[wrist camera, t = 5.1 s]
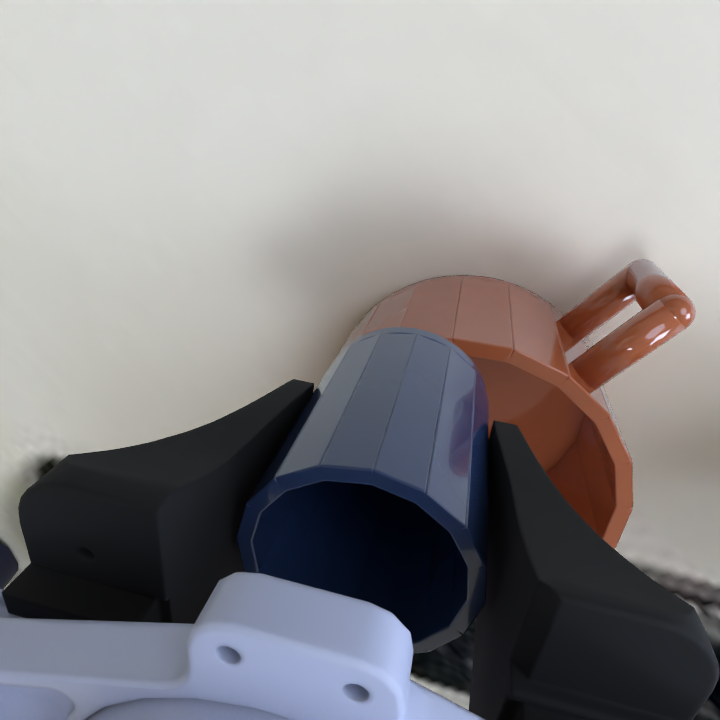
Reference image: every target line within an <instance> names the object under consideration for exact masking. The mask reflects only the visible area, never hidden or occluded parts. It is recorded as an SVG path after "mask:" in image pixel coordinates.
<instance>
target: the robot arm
mask: <svg viewBox="0 0 720 720" xmlns="http://www.w3.org/2000/svg"><path fill="white" fill-rule="evenodd" d="M313 390H314V383H309V382H305V381H300V380H295V379H293V380H291V381H289V382H287V383H285V384H284V385H282V386H280V387H279V388H277V389H275V390H273V391H272V392H270V393H268V394H267V395H265V396H263V397H261V398H259V399H258V400H256V401H254V402H252V403H251V404H249V405H247V406H245V407H243V408H241V409H239V410H237V411H235V412H233V413H231V414H229V415H227V416H225V417H223V418H221V419H218V420H216V421H214V422H211V423H209V424H206V425H204V426H201V427H198V428H196V429H193V430H190V431H187V432H184V433H181V434H178V435H174V436H171V437H167V438H164V439H160V440H157V441H153V442H149V443H145V444H140V445H136V446H130V447H125V448H120V449H114V450H107V451H99V452H91V453H82V454H73V455H68V456H67V457H66V458H64V459H63V460H62V461H61V462H60V463H58V464H57V465H56V466H55V467H54V468H52V469H51V470H50V471H49V472H48V473H46V474H45V475H44V476H43V477H42V478H40V479H39V480H38V481H37V482H36V483H34V484H33V485H32V486H31V487H30V488H28V489H27V490H26V492H25V493H24V494H23V495H22V497H21V499H20V503H19V507H18V509H19V518H20V524H21V528H22V531H23V535H24V539H25V542H26V546H27V550H28V553H29V557H30V561H31V564H30V565H29V566H28V567H27V568H26V569H25V570H24V571H23V572H22V573H21V574H20V575H19V576H18V577H17V578H16V579H15V580H14V581H13V582H12V583H11V584H10V585H9V586H8V587H7V588H6V589H5V590H3V589H0V720H693V718H694V717H695V716H696V714H697V713H698V711H699V710H700V708H701V707H702V706H703V704H704V703H705V701H706V700H707V699H708V697H709V696H710V694H711V693H712V691H713V690H714V688H715V686H716V683H717V681H718V679H719V663H718V661H717V658H716V656H715V653H714V651H713V648H712V646H711V643H710V641H709V638H708V636H707V633H706V631H705V629H704V627H703V625H702V623H701V621H700V619H699V617H698V615H697V613H696V611H695V609H694V607H692V606H691V605H689V604H688V603H686V602H685V601H683V600H682V599H680V598H679V597H677V596H676V595H674V594H673V593H671V592H670V591H668V590H667V589H665V588H664V587H662V586H661V585H659V584H658V583H656V582H655V581H654V580H652V579H651V578H649V577H648V576H647V575H646V574H644V573H643V572H642V571H640V570H639V569H638V568H636V567H635V566H634V565H633V564H631V563H630V562H629V561H628V560H626V559H625V558H624V557H623V556H622V555H620V554H619V553H618V552H617V551H616V550H614V549H613V548H612V547H611V546H610V545H609V544H608V543H607V542H606V541H605V540H603V539H602V538H601V537H600V536H599V535H598V534H597V533H596V532H595V531H594V530H593V529H592V528H591V527H590V526H589V525H588V524H587V523H586V522H585V521H584V520H583V519H582V518H581V517H580V515H579V514H578V513H577V512H576V511H575V510H574V509H573V508H572V507H571V505H570V504H569V503H568V502H567V501H566V500H565V498H564V497H563V496H562V494H561V493H560V492H559V491H558V489H557V488H556V487H555V485H554V484H553V483H552V481H551V480H550V478H549V477H548V475H547V474H546V472H545V471H544V469H543V468H542V466H541V465H540V463H539V462H538V460H537V458H536V457H535V455H534V453H533V452H532V450H531V448H530V447H529V445H528V443H527V441H526V440H525V438H524V436H523V434H522V432H521V431H520V429H519V428H518V426H517V425H514V424H509V423H505V422H500V421H495V420H494V421H493V424H492V428H491V432H490V436H489V440H488V544H487V585H486V603H485V606H484V607H483V609H482V610H481V611H480V613H479V614H478V616H477V617H476V629H475V643H474V656H473V668H472V680H471V691H470V703H469V711H468V710H467V709H465V708H463V707H461V706H459V705H457V704H455V703H453V702H452V701H450V700H448V699H446V698H444V697H442V696H440V695H439V694H437V693H435V692H433V691H431V690H429V689H427V688H426V687H424V686H422V685H420V684H418V683H416V682H414V681H412V680H411V679H410V672H411V665H412V657H413V645H412V639H411V633H410V631H409V630H408V629H407V628H406V627H405V626H404V625H403V624H402V623H401V622H400V621H399V620H398V619H397V617H396V616H395V615H394V614H393V613H392V612H389V611H387V610H385V609H383V608H381V607H379V606H377V605H374V604H372V603H370V602H367V601H363V600H359V599H355V598H352V597H348V596H344V595H340V594H337V593H333V592H329V591H325V590H322V589H318V588H314V587H310V586H307V585H303V584H299V583H295V582H292V581H288V580H284V579H280V578H277V577H273V576H269V575H266V574H262V573H247V572H245V571H244V569H243V564H242V560H241V556H240V551H239V547H238V542H237V532H238V529H239V525H240V522H241V518H242V515H243V511H244V508H245V505H246V503H247V501H248V499H249V498H250V496H251V495H252V493H253V491H254V490H255V488H256V486H257V485H258V483H259V481H260V480H261V478H262V477H263V475H264V473H265V472H266V470H267V468H268V467H269V465H270V463H271V462H272V460H273V459H274V457H275V455H276V454H277V452H278V450H279V449H280V447H281V445H282V444H283V442H284V441H285V439H286V437H287V436H288V434H289V432H290V431H291V429H292V427H293V426H294V424H295V422H296V421H297V419H298V418H299V416H300V414H301V413H302V411H303V409H304V408H305V406H306V404H307V403H308V401H309V400H310V398H311V396H312V395H313Z"/></svg>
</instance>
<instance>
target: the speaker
mask: <svg viewBox="0 0 720 720" xmlns="http://www.w3.org/2000/svg"><path fill="white" fill-rule="evenodd" d="M17 571H18V563H17V562H16V560H15V558H14V557H13V555H12V554H11V552H10V551H9V549H8V548H7V547H5V546H4V545H2V544H0V589H4V588H5V586H6V585H7V584H8V582H9V581H10V580H11V579H12V577H13V576H14V575H15V573H16V572H17Z"/></svg>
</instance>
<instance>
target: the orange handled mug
mask: <svg viewBox="0 0 720 720" xmlns="http://www.w3.org/2000/svg"><path fill="white" fill-rule="evenodd" d="M635 300H636V301H637V302H638V304H639V305H640V307H641V308H642V309H643V310H642V311H640V312H639V313H637V314H636V315H635V316H633V317H632V318H631V319H629V320H628V321H626V322H625V323H624V324H622V325H621V326H620V327H618V328H617V329H616V330H614V331H613V332H611V333H610V334H609V335H607V336H606V337H605V338H603V339H602V340H600V341H599V342H598V343H596V344H595V345H594V346H592V347H591V348H590V349H587V347H586V345H585V343H584V341H583V339H584V338H586V337H587V336H589V335H590V334H591V333H593V332H594V331H595V330H597V329H598V328H599V327H601V326H602V325H603V324H605V323H606V322H607V321H609V320H610V319H611V318H613V317H614V316H615V315H617V314H618V313H619V312H621V311H622V310H623V309H625V308H626V307H627V306H629V305H630V304H631V303H633V302H634V301H635ZM694 318H695V307H694V304H693V303H692V301H691V300H690V299H689V298H688V297H687V296H686V295H685V294H684V293H683V292H682V291H681V290H680V289H679V288H678V287H677V286H676V285H675V284H674V283H673V282H672V281H671V280H670V279H669V278H668V277H667V276H666V275H665V274H664V273H663V272H662V271H661V270H660V269H659V268H658V267H657V266H656V265H655V264H654V263H653V262H651V261H649V260H645V259H640V260H636V261H633V262H631V263H630V264H629V265H627V266H626V267H625V268H623V269H622V270H621V271H620V272H618V273H617V274H616V275H615V276H613V277H612V278H611V279H609V280H608V281H607V282H606V283H604V284H603V285H602V286H601V287H599V288H598V289H597V290H596V291H594V292H593V293H592V294H590V295H589V296H588V297H587V298H585V299H584V300H583V301H582V302H580V303H579V304H578V305H576V306H575V307H574V308H573V309H571V310H570V311H569V312H568V313H566V314H565V315H563V314H562V313H561V312H559V311H558V310H557V309H556V308H555V307H554V306H553V305H551V304H550V303H549V302H547V301H546V300H544V299H542V298H541V297H539V296H538V295H536V294H535V293H532V292H530V291H528V290H526V289H524V288H522V287H520V286H518V285H514V284H511V283H508V282H505V281H502V280H498V279H493V278H488V277H482V276H468V275H457V276H443V277H438V278H433V279H427V280H424V281H421V282H418V283H415V284H412V285H409V286H407V287H405V288H403V289H401V290H399V291H396V292H394V293H393V294H391V295H390V296H388V297H387V298H385V299H384V300H382V301H381V302H379V303H378V304H377V305H376V306H375V307H374V308H372V309H371V310H370V311H369V312H368V313H367V314H366V315H365V317H364V318H363V319H362V320H361V321H360V322H359V324H358V325H357V326H356V327H355V328H354V329H353V330H352V332H351V333H350V335H349V337H348V338H347V340H346V342H345V343H344V345H343V347H342V348H341V350H340V352H339V353H338V355H339V354H340V353H341V352H342V351H343V349H344V348H346V347H347V346H348V345H349V344H350V343H351V342H353V341H354V340H356V339H357V338H359V337H361V336H363V335H365V334H367V333H370V332H373V331H376V330H379V329H385V328H392V327H407V328H416V329H421V330H425V331H428V332H431V333H434V334H436V335H439V336H441V337H443V338H445V339H447V340H448V341H450V342H451V343H453V344H455V345H456V346H457V347H458V348H460V349H461V350H462V351H463V352H464V353H465V354H466V355H467V356H468V357H469V358H470V359H471V360H472V361H473V363H474V364H475V366H476V367H477V368H478V370H479V372H480V374H481V376H482V378H483V380H484V383H485V386H486V390H487V395H488V402H489V428H488V440H489V436H490V432H491V428H492V424H493V421H494V420H495V421H500V422H505V423H509V424H514V425H517V426H518V428H519V429H520V431H521V432H522V434H523V436H524V438H525V440H526V441H527V443H528V445H529V447H530V448H531V450H532V452H533V453H534V455H535V457H536V458H537V460H538V462H539V463H540V465H541V466H542V468H543V469H544V471H545V472H546V474H547V475H548V477H549V478H550V480H551V481H552V483H553V484H554V485H555V487H556V488H557V489H558V491H559V492H560V493H561V494H562V496H563V497H564V498H565V500H566V501H567V502H568V503H569V504H570V505H571V507H572V508H573V509H574V510H575V511H576V512H577V513H578V514H579V515H580V517H581V518H582V519H583V520H584V521H585V522H586V523H587V524H588V525H589V526H590V527H591V528H592V529H593V530H594V531H595V532H596V533H597V534H598V535H599V536H600V537H601V538H602V539H603V540H605V541H606V542H607V543H608V544H609V545H610V546H611V547H612V548H613V549H614V548H616V546H617V543H618V541H619V539H620V537H621V534H622V532H623V530H624V527H625V525H626V523H627V521H628V518H629V516H630V514H631V512H632V508H633V466H632V459H631V457H630V454H629V452H628V449H627V446H626V444H625V441H624V439H623V436H622V434H621V431H620V428H619V426H618V423H617V421H616V418H615V415H614V413H613V410H612V408H611V405H610V402H609V400H608V397H607V395H606V392H605V390H604V387H603V385H604V384H605V383H607V382H608V381H610V380H611V379H613V378H614V377H616V376H617V375H619V374H620V373H622V372H623V371H624V370H626V369H627V368H629V367H630V366H632V365H633V364H635V363H636V362H638V361H639V360H641V359H642V358H644V357H645V356H646V355H648V354H649V353H651V352H652V351H654V350H655V349H657V348H658V347H660V346H661V345H663V344H664V343H666V342H667V341H668V340H670V339H671V338H673V337H674V336H676V335H677V334H679V333H680V332H682V331H683V330H685V329H686V328H687V327H688V326H690V324H691V323H692V322H693V320H694ZM338 355H337V357H338ZM337 357H336V358H337ZM336 358H335V360H336ZM335 360H334V361H335Z"/></svg>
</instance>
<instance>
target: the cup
mask: <svg viewBox="0 0 720 720" xmlns="http://www.w3.org/2000/svg"><path fill="white" fill-rule="evenodd" d="M488 428H489V402H488V395H487V390H486V386H485V383H484V380H483V378H482V376H481V374H480V372H479V370H478V368H477V367H476V366H475V364H474V363H473V361H472V360H471V359H470V358H469V357H468V356H467V355H466V354H465V353H464V352H463V351H462V350H461V349H460V348H458V347H457V346H456V345H455V344H453V343H451V342H450V341H448V340H447V339H445V338H443V337H441V336H439V335H436V334H434V333H431V332H428V331H425V330H421V329H416V328H407V327H392V328H385V329H379V330H376V331H373V332H370V333H367V334H365V335H363V336H361V337H359V338H357V339H356V340H354V341H353V342H351V343H350V344H349V345H348V346H347V347H346V348H344V349H343V351H342V352H341V353H340V354H339V355H338V357H337V358H336V360H335V361H334V362H333V363H332V364H331V365H330V367H329V368H328V370H327V372H326V373H325V375H324V377H323V378H322V380H321V382H320V383H319V385H318V386H317V388H316V390H315V391H314V393H313V395H312V396H311V398H310V400H309V401H308V403H307V404H306V406H305V408H304V409H303V411H302V413H301V414H300V416H299V418H298V419H297V421H296V422H295V424H294V426H293V427H292V429H291V431H290V432H289V434H288V436H287V437H286V439H285V441H284V442H283V444H282V445H281V447H280V449H279V450H278V452H277V454H276V455H275V457H274V459H273V460H272V462H271V463H270V465H269V467H268V468H267V470H266V472H265V473H264V475H263V477H262V478H261V480H260V481H259V483H258V485H257V486H256V488H255V490H254V491H253V493H252V495H251V496H250V498H249V499H248V501H247V503H246V505H245V508H244V511H243V515H242V518H241V522H240V525H239V529H238V532H237V542H238V547H239V551H240V556H241V560H242V564H243V569H244V571H245V572H247V573H262V574H266V575H269V576H273V577H277V578H280V579H284V580H288V581H292V582H295V583H299V584H303V585H307V586H310V587H314V588H318V589H322V590H325V591H329V592H333V593H337V594H340V595H344V596H348V597H352V598H355V599H359V600H363V601H367V602H370V603H372V604H374V605H377V606H379V607H381V608H383V609H385V610H387V611H389V612H392V613H393V614H394V615H395V616H396V617H397V619H398V620H399V621H400V622H401V623H402V624H403V625H404V626H405V627H406V628H407V629H408V630H409V631H410V633H411V639H412V645H413V654H416V653H425V652H428V651H432V650H434V649H436V648H438V647H440V646H442V645H444V644H446V643H448V642H450V641H452V640H454V639H456V638H458V637H460V636H462V635H463V634H464V633H465V632H466V631H467V629H468V628H469V627H470V625H471V624H472V623H473V621H474V620H475V618H476V617H477V616H478V614H479V613H480V611H481V610H482V609H483V607H484V606H485V603H486V585H487V544H488Z"/></svg>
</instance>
